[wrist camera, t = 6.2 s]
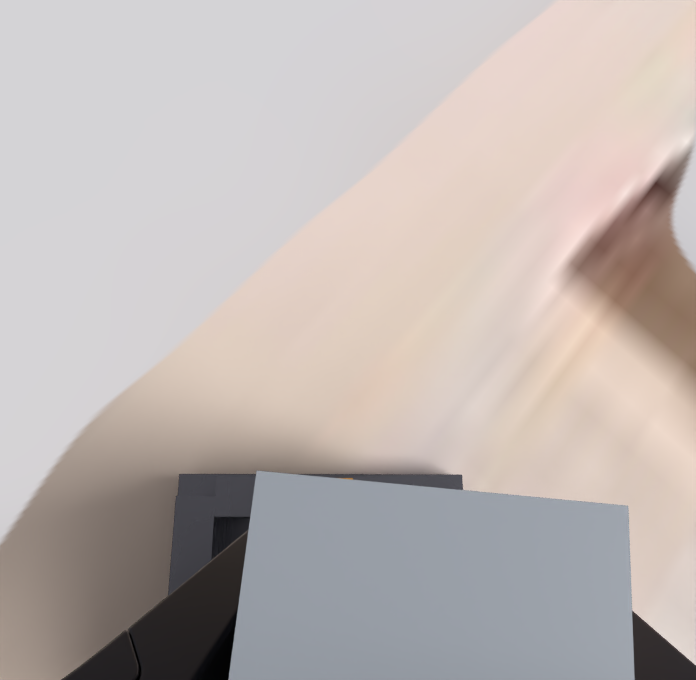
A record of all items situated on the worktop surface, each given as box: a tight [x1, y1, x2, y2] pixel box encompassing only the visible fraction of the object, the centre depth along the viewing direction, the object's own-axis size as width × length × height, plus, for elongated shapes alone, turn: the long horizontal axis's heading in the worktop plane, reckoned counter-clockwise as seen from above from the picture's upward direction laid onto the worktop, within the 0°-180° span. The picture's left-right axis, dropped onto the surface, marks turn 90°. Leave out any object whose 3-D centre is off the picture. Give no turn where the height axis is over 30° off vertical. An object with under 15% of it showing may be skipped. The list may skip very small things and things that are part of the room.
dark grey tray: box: [168, 474, 463, 596], centre depth 20 cm, size 9×10×5 cm
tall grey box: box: [228, 471, 635, 680], centre depth 11 cm, size 4×4×11 cm
